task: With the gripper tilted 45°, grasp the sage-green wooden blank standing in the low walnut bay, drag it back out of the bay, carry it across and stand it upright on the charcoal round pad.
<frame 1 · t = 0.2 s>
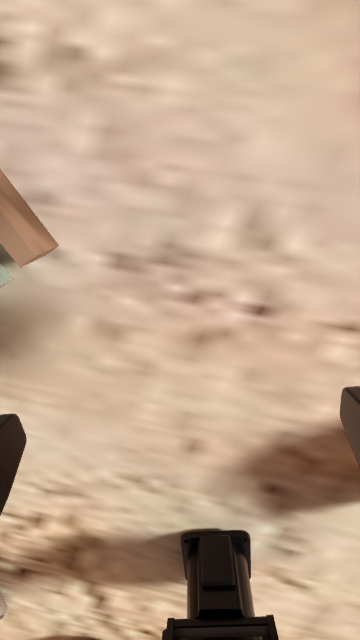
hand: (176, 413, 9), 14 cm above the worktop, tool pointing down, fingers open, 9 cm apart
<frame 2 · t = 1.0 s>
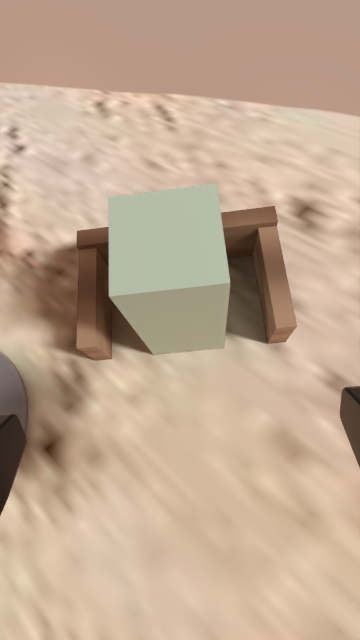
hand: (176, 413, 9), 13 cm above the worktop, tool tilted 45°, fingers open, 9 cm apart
walnut bay: (185, 318, 24), on the worktop
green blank: (178, 288, 19), in the walnut bay
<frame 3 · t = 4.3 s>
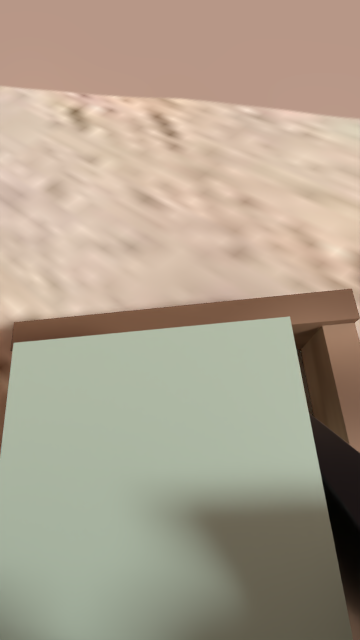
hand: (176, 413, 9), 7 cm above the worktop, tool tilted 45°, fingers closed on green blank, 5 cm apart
walnut bay: (194, 458, 15), on the worktop
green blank: (183, 464, 10), in the walnut bay, touching gripper
when the fingers open (8 cm above the worktop, at t = 11.1 s): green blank stays where it is, resting on charcoal pad.
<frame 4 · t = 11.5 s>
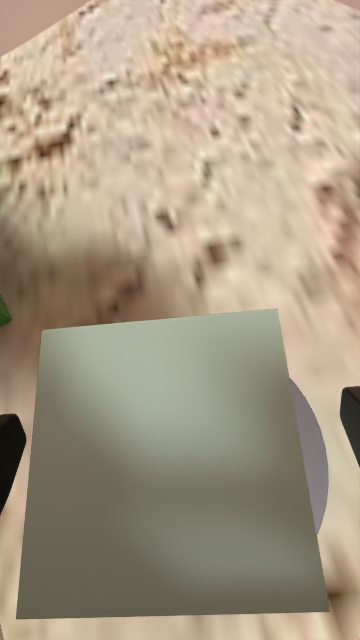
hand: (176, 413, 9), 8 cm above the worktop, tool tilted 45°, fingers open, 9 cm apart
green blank: (185, 443, 11), on the charcoal pad, point 6 cm above the worktop
charcoal pad: (196, 455, 16), on the worktop
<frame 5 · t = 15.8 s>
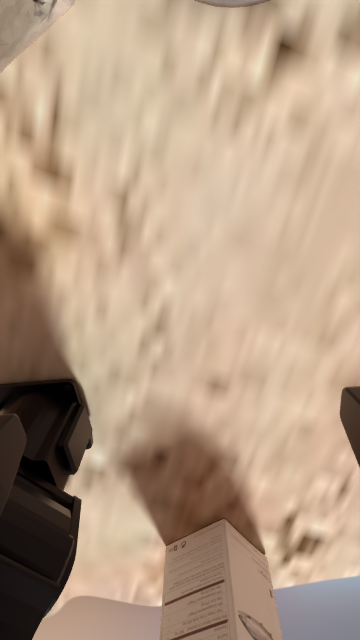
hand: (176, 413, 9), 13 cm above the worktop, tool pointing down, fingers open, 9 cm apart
supplement box: (215, 547, 33), on the worktop
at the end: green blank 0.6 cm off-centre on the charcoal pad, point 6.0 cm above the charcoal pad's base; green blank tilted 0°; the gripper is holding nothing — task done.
